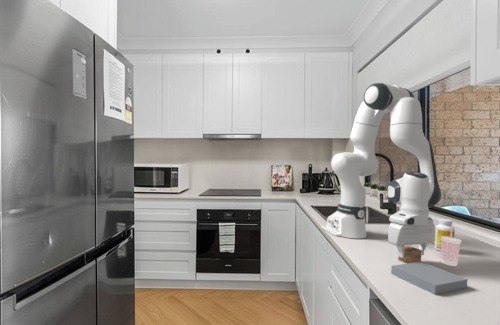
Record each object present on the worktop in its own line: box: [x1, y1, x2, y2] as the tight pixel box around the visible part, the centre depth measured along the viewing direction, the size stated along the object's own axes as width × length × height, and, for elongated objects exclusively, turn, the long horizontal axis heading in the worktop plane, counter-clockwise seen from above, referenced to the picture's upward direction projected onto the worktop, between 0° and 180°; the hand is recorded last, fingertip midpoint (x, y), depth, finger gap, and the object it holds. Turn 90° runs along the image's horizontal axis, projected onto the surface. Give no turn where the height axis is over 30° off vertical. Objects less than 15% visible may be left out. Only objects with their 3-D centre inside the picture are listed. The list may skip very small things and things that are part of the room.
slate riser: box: [390, 261, 468, 295], centre depth 86 cm, size 14×14×2 cm
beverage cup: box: [440, 224, 462, 267], centre depth 102 cm, size 6×6×14 cm
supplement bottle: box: [433, 218, 456, 252], centre depth 117 cm, size 7×7×13 cm
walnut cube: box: [397, 245, 422, 264], centre depth 101 cm, size 5×5×5 cm
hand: (411, 255), depth 101 cm, fingers open, 8 cm apart
